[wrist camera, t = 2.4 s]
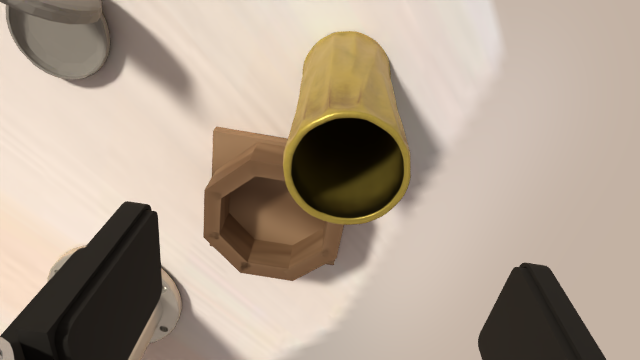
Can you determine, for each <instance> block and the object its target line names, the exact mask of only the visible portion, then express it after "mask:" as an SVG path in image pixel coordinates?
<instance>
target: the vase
mask: <svg viewBox="0 0 640 360" xmlns="http://www.w3.org/2000/svg"><path fill="white" fill-rule="evenodd" d="M283 170H284V177H285V183H286V186H287V188H288V191H289V193H290V194H291V196H292V197H293V199H294V200H295V202H296V203H297V204H298V205H299V206H300V207H301V208H302V209H303V210H304V211H306V212H307V213H308V214H310V215H312V216H313V217H316V218H318V219H321V220H323V221H327V222H330V223H334V224H344V225H352V224H362V223H367V222H370V221H372V220H375V219H377V218H379V217H381V216H383V215H385V214H386V213H387V212H389V211H390V210H391V209H392V208H393V207H394V206H395V205H396V204H397V203H398V202H399V201H400V200H401V199H402V197H403V196H404V194H405V192H406V190H407V188H408V185H409V181H410V177H411V174H410V150H409V147H408V143H407V139H406V135H405V132H404V128H403V125H402V121H401V118H400V116H399V113H398V110H397V105H396V99H395V95H394V91H393V86H392V83H391V77H390V65H389V61H388V58H387V56H386V54H385V52H384V50H383V49H382V47H381V46H380V45H379V44H378V43H377V42H376V41H375V40H373V39H372V38H370V37H368V36H367V35H364V34H362V33H359V32H353V31H347V32H335V33H332V34H330V35H328V36H326V37H324V38H323V39H321V40H320V41H318V42H317V43H316V44H315V45H314V46H313V48H312V49H311V50H310V52H309V53H308V55H307V57H306V59H305V61H304V66H303V77H302V81H301V87H300V95H299V100H298V105H297V109H296V114H295V117H294V120H293V123H292V127H291V131H290V134H289V137H288V141H287V143H286V146H285V149H284V154H283Z"/></svg>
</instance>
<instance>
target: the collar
mask: <svg viewBox="0 0 640 360" xmlns="http://www.w3.org/2000/svg"><path fill="white" fill-rule="evenodd" d="M287 141H288V139H286V138H280V137H274V136H268V135H262V134H256V133H250V132H245V131H239V130H233V129H227V128H221V127H216V128H215V129H214V131H213V158H212V178H211V180H210V182H209V184H208V185H207V187H206V189H205V195H204V238H205V239H206V240H207V241H208V242H209V243H210V246H213V247H214V248H215V249H216V250H217V251H218V252H219V253H221V254H222V255H223V256H224V257H225V258H226V259H227V260H228V261H229V262H230V263H231V264H232V265H233V266H234V267H235V268H236V269H237V270H238V271H239V272H240V273H246V274H252V275H258V276H265V277H271V278H278V279H284V280H290V281H294V280H295V279H297V278H299V277H301V276H303V275H305V274H307V273H309V272H311V271H313V270H315V269H317V268H318V267H320V266H322V265H324V264H329V265H334V261H335V259H336V257H337V253H338V249H339V244H340V240H341V236H342V231H343V227H344V224H334V223H330V222H327V221H323V220H321V219H318V218H316V217H313V216H312V215H310V214H308V213H307V212H306V211H304V210H303V209H302V208H301V207H300V206H299V205H298V204H297V203H296V202H295V200H294V199H293V197H292V196H291V194H290V193H289V191H288V188H287V186H286V183H285V177H284V170H283V154H284V149H285V146H286V143H287Z"/></svg>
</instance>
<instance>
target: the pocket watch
mask: <svg viewBox="0 0 640 360" xmlns="http://www.w3.org/2000/svg"><path fill="white" fill-rule="evenodd" d="M0 2H2V3H4V4H6V20H7V24H8V28H9V31H10V33H11V36H12V38H13V40H14V41H15V43H16V45H17V46H18V48H19V49H20V51H21V52H22V53H23V54H24V55H25V56H26V57H27V58H28V59H29V60H30V61H31V62H32V63H33V64H34V65H35V66H37V67H38V68H39V69H41V70H43V71H44V72H46V73H48V74H50V75H53V76H55V77H58V78H63V79H73V80H76V79H81V78H85V77H88V76H90V75H92V74H94V73H95V72H97V71H98V70H99V69H100V68H101V67H102V66H103V64H104V63H105V61H106V59H107V57H108V54H109V49H110V34H109V30H108V26H107V22H106V20H105V18H104V16H103V14H102V1H101V0H0Z"/></svg>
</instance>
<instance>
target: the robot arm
mask: <svg viewBox="0 0 640 360" xmlns="http://www.w3.org/2000/svg"><path fill="white" fill-rule="evenodd" d="M181 310H182V300H181V297H180V293H179V291H178V289H177V287H176V285H175V283H174V282H173V280H172V279H171V278H170V277H169V275H168V274H167V273H166V272H165V271H164V270H163V269H162V268H161V260H160V244H159V229H158V215H157V212H155V211H151V207H150V205H148V204H141V203H135V202H128V201H127V202H124V203H123V204H122V205H121V206H120V207H119V209H118V210H117V211H116V212H115V213H114V214H113V216H112V217H111V218H110V219H109V220H108V221H107V222H106V224H105V225H104V226H103V227H102V228H101V229H100V231H99V232H98V233H97V234H96V235H95V236H94V238H93V239H92V240H91V241H90V242H89V243H88V244H87V245H86V246H81V247H78V248H75V249H72V250H71V251H69V252H67V253H65V254H64V255H63V256H62V257H61V258H60V259H59V260H58V261H57V262H56V263H55V264H54V266H53V267H52V268H51V270H50V273H49V276H48V283H47V284H46V285H45V286H44V287H43V288H42V289H41V290H40V292H39V293H38V294H37V295H36V296H35V297H34V298H33V299H32V301H31V302H30V303H29V304H28V305H27V306H26V307H25V309H24V310H23V311H22V312H21V313H20V314H19V315H18V316H17V318H16V319H15V320H14V321H13V322H12V323H11V324H10V326H9V327H8V328H7V329H6V330H5V331H4V332H3V333H2V335H1V336H0V360H141V358H142V356H143V354H144V352H145V350H146V348H147V346H148V344H149V343H153V342H156V341H158V340H160V339H162V338H164V337H165V336H167V335H168V334H169V333H170V332H171V331H172V330H173V329H174V327H175V326H176V324H177V321H178V319H179V317H180V314H181ZM478 347H479V351H480V353H481V357H482V360H606V358H605V357H604V355H603V353H602V352H601V350H600V349H599V347H598V345H597V344H596V342H595V341H594V339H593V337H592V336H591V334H590V332H589V331H588V329H587V328H586V326H585V324H584V323H583V321H582V320H581V318H580V316H579V315H578V313H577V311H576V310H575V308H574V307H573V305H572V303H571V302H570V300H569V298H568V297H567V295H566V294H565V292H564V290H563V289H562V287H561V286H560V284H559V282H558V281H557V279H556V277H555V276H554V274H553V273H552V271H551V270H550V268H548V267H547V266H543V265H537V264H531V263H522V264H521V265H520V267H515V268H514V269H513V270H512V271H511V274H510V275H509V278H508V279H507V281H506V283H505V285H504V287H503V289H502V291H501V293H500V295H499V297H498V299H497V301H496V303H495V305H494V307H493V309H492V311H491V313H490V315H489V317H488V319H487V321H486V323H485V325H484V326H483V329H482V330H481V332H480V335H479V339H478Z"/></svg>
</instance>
